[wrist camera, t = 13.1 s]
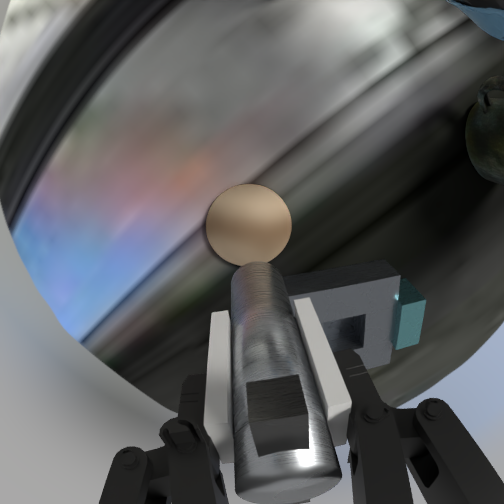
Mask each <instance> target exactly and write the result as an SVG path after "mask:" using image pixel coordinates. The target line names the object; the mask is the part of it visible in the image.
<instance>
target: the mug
mask: <svg viewBox="0 0 504 504" xmlns="http://www.w3.org/2000/svg"><path fill="white" fill-rule="evenodd" d="M492 90H501V91H504V76H495V77H491V78H489V79H488V80H487V81H485V82H484V83H483V84H482V85H481V87H480V90H479V92H478V94H477V96H478V102H477V103H476V104H475V105H474V106H473V108H472V109H471V111H470V113H469V115H468V118H467V122H466V128H465V140H466V147H467V151H468V155H469V157H470V160H471V162H472V164H473V166H474V167H475V169H476V170H477V172H478V173H479V174H480V175H481V176H482V177H483V178H485V179H486V180H489V181H492V182H495V183H497V184H500V185H503V186H504V99H497V98H490V97H489V94H488V92H489V91H492Z"/></svg>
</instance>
